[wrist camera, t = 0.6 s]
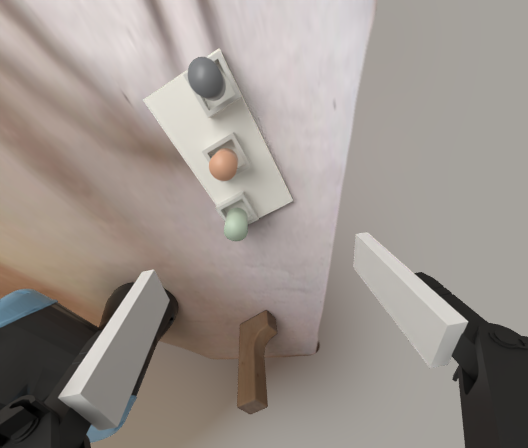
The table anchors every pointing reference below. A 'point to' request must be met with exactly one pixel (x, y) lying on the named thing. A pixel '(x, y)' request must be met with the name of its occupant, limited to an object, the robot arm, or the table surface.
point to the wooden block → (254, 361)
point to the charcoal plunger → (206, 79)
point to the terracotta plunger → (223, 164)
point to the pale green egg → (236, 224)
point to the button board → (221, 143)
